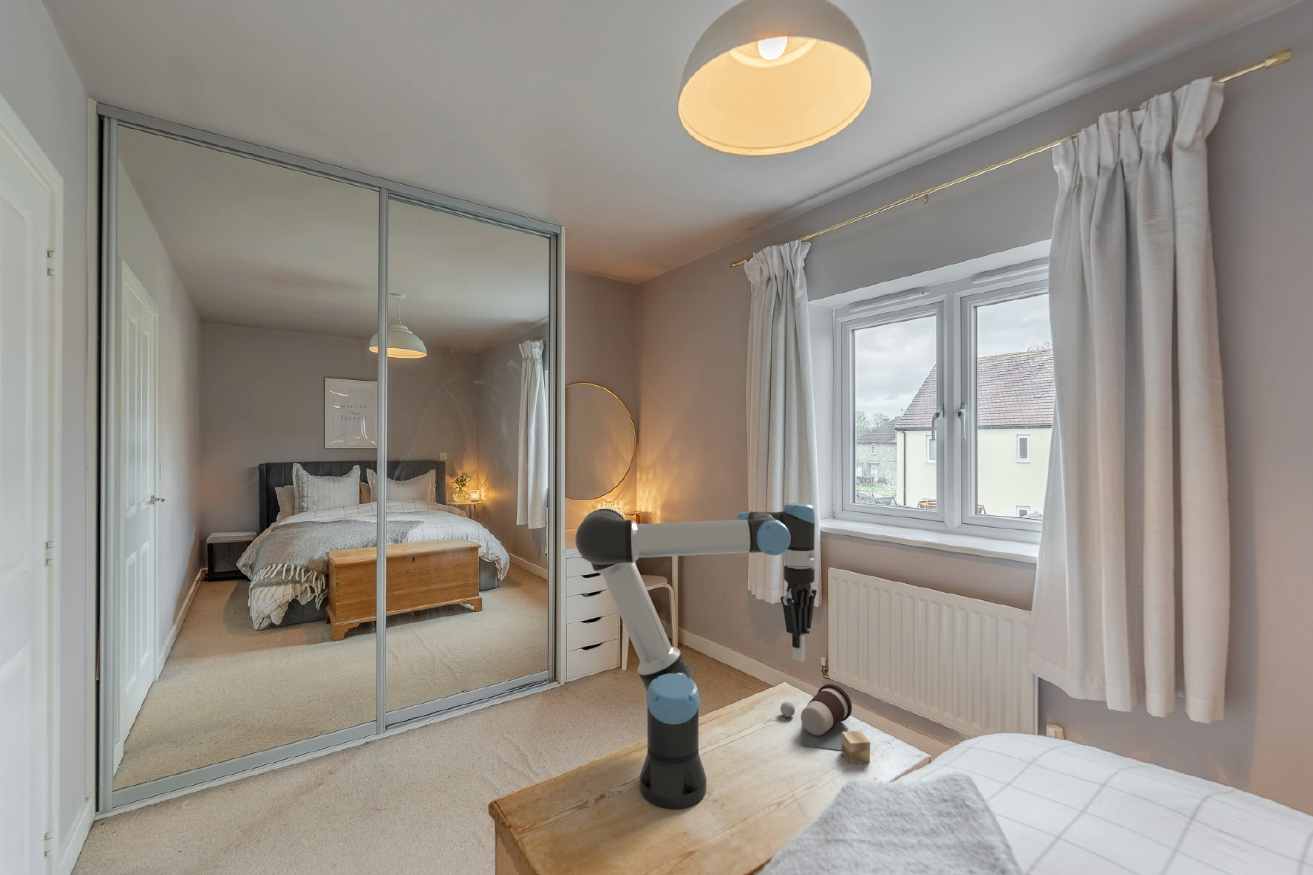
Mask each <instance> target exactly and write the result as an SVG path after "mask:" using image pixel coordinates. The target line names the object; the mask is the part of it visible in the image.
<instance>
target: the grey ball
mask: <svg viewBox="0 0 1313 875" xmlns="http://www.w3.org/2000/svg"><path fill="white" fill-rule="evenodd" d="M780 712H781V714H782V715H783V716H784V717H785V718H791V717H793V716H794V715H795V713H796V708H795V706H794V704H793V703H792V702H790V701H784V702H782V703H781V706H780Z"/></svg>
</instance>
